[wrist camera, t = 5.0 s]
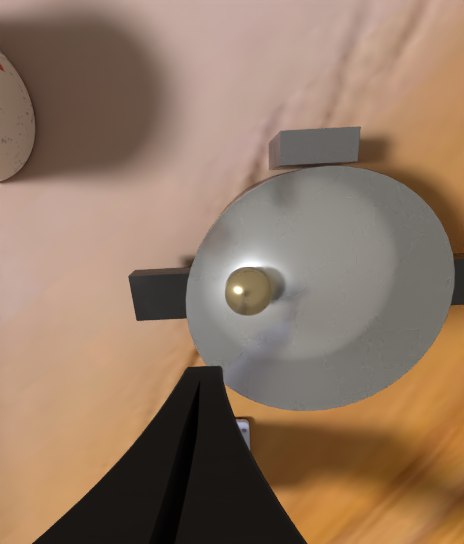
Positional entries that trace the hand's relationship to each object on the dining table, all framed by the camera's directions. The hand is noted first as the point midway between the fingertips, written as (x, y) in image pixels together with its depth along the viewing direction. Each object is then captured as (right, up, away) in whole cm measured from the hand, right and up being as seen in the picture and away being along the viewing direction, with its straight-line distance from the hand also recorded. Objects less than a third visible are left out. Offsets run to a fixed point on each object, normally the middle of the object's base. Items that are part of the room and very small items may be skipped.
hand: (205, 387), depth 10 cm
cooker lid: (+6, +3, +6) cm, 9 cm away
